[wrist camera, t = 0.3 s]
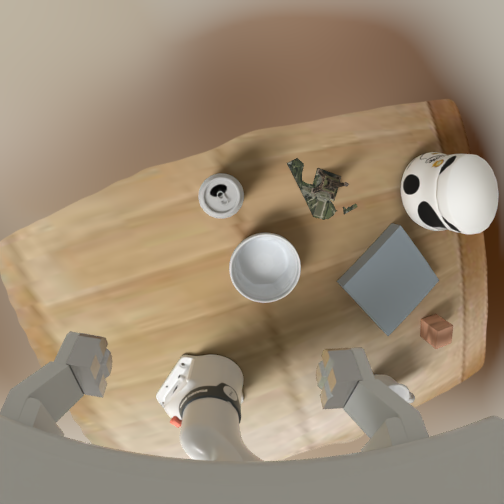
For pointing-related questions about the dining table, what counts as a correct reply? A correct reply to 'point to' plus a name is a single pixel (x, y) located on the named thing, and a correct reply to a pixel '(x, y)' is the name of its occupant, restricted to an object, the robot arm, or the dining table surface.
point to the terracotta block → (436, 331)
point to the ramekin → (265, 267)
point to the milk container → (450, 192)
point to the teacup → (396, 387)
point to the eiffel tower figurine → (319, 190)
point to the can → (221, 195)
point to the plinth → (389, 279)
